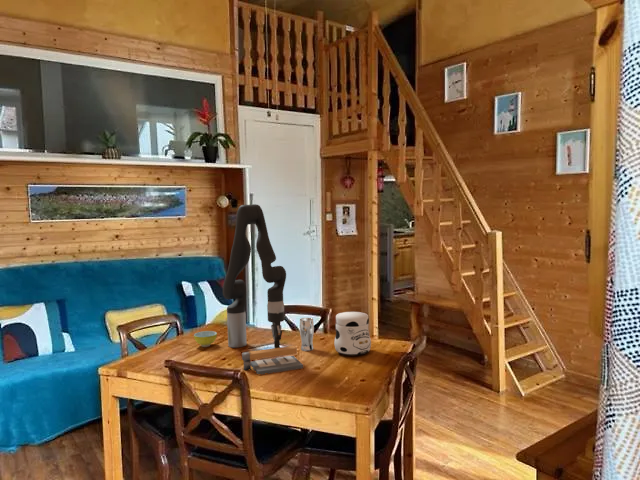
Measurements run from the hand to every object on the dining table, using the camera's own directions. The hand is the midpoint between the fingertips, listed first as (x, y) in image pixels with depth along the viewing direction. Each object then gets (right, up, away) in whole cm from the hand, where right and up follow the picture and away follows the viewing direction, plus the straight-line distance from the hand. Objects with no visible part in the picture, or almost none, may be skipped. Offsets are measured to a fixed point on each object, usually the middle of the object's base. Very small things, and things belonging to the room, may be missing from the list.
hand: (277, 348), depth 219 cm
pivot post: (-12, -7, -10) cm, 17 cm away
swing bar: (-3, -2, -7) cm, 8 cm away
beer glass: (+13, -5, +17) cm, 22 cm away
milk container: (+35, -5, +10) cm, 37 cm away
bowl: (-39, -5, +27) cm, 47 cm away
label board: (0, -6, -7) cm, 10 cm away
